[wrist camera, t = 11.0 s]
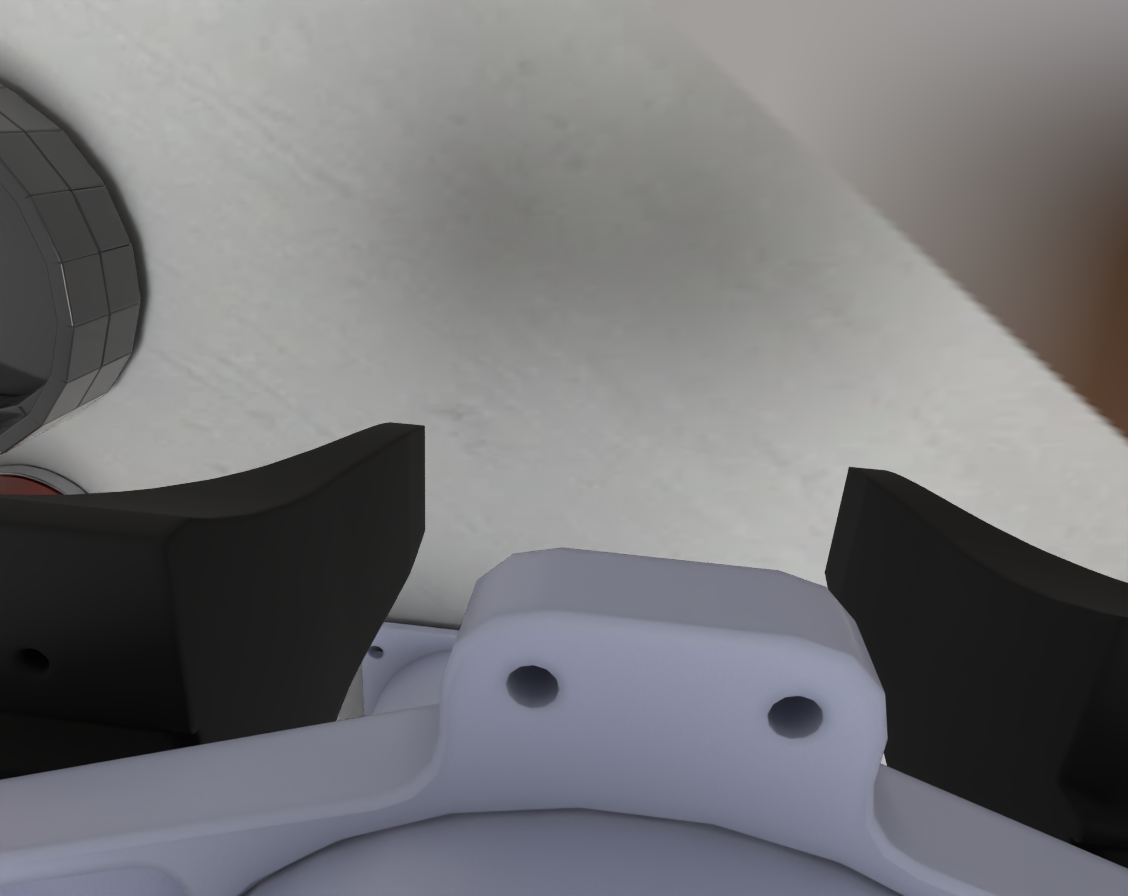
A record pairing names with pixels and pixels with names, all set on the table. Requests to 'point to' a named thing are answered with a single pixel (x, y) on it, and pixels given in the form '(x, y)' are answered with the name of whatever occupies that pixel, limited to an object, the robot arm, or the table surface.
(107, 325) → the pan
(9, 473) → the tin can
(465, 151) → the table surface
